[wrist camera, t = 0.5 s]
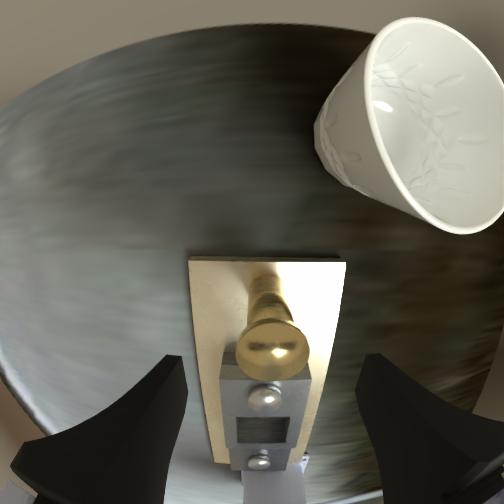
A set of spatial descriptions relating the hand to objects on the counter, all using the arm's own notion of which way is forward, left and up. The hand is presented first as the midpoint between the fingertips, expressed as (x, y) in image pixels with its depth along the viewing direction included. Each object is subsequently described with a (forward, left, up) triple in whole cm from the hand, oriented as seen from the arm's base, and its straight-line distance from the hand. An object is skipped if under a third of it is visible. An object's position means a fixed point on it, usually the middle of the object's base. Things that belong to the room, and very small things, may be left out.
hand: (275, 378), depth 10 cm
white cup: (+10, -6, -9) cm, 15 cm away
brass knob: (0, 0, -8) cm, 8 cm away
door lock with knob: (-11, 0, -9) cm, 14 cm away
